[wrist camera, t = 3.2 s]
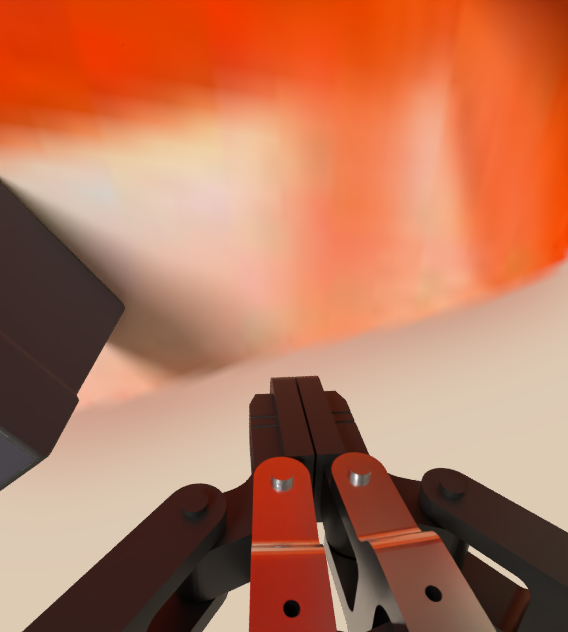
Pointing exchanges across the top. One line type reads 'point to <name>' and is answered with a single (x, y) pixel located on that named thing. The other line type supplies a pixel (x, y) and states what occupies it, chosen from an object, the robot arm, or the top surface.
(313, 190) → the top surface
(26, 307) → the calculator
